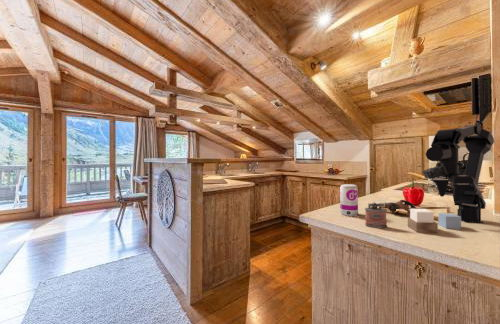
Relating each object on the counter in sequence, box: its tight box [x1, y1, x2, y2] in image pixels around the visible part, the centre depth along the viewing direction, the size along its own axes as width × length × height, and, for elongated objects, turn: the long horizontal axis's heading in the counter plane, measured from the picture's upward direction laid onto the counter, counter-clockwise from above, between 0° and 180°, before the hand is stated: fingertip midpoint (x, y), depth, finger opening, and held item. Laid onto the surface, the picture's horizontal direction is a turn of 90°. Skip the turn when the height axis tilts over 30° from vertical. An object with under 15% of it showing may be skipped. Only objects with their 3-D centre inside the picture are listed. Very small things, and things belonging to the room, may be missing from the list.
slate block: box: [437, 212, 462, 230], centre depth 89 cm, size 5×5×5 cm
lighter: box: [364, 201, 388, 229], centre depth 93 cm, size 8×3×10 cm, turn 70°
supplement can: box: [339, 183, 359, 217], centre depth 112 cm, size 8×8×15 cm
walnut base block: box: [407, 217, 439, 234], centre depth 87 cm, size 7×7×4 cm
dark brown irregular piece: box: [387, 199, 417, 218], centre depth 108 cm, size 12×9×8 cm
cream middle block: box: [409, 208, 435, 223], centre depth 87 cm, size 6×6×4 cm
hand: (448, 198), depth 89 cm, fingers open, 9 cm apart
